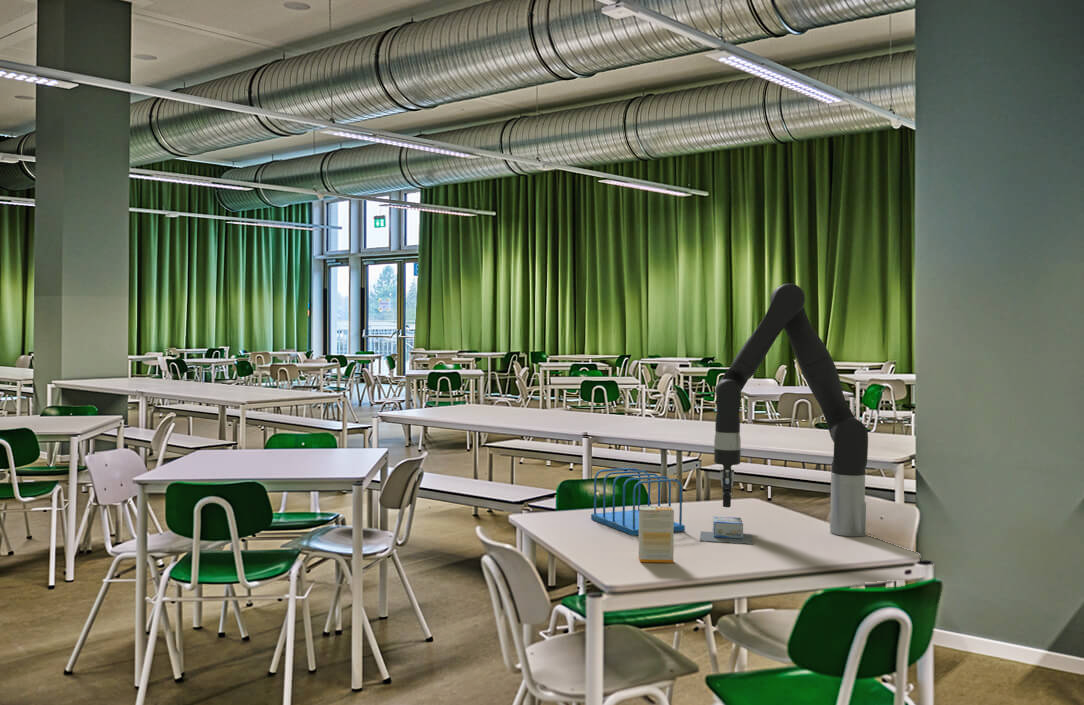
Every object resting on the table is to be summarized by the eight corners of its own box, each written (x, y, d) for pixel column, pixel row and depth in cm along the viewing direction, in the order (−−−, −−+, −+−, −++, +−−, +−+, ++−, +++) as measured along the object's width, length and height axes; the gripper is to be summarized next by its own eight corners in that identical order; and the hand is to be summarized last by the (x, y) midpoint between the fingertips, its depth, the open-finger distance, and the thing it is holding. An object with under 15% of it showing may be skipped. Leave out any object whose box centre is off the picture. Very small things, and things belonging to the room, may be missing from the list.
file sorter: (590, 520, 266) (591, 469, 266) (639, 516, 273) (640, 467, 273) (632, 536, 243) (633, 481, 243) (685, 532, 250) (686, 478, 250)
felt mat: (751, 535, 246) (751, 534, 246) (752, 544, 235) (752, 543, 235) (700, 532, 249) (700, 531, 249) (699, 541, 237) (699, 540, 237)
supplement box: (671, 558, 217) (672, 505, 217) (673, 563, 212) (674, 509, 212) (637, 558, 217) (638, 505, 217) (639, 562, 212) (640, 508, 212)
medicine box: (741, 517, 248) (743, 523, 239) (740, 533, 248) (743, 539, 239) (712, 516, 249) (714, 521, 240) (712, 532, 249) (713, 538, 240)
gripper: (741, 450, 249) (740, 511, 249) (740, 445, 262) (739, 503, 262) (714, 449, 250) (713, 510, 250) (714, 444, 263) (713, 502, 263)
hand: (726, 506), depth 256 cm, fingers closed
